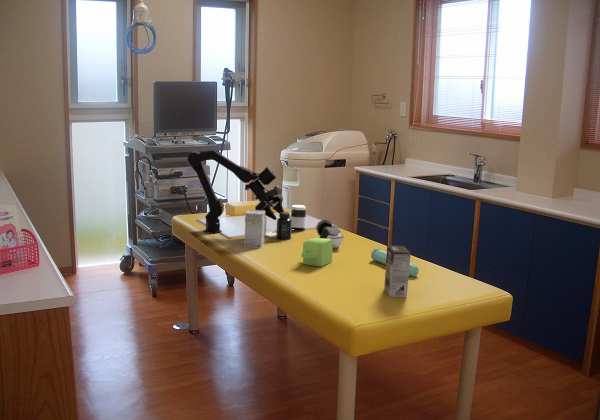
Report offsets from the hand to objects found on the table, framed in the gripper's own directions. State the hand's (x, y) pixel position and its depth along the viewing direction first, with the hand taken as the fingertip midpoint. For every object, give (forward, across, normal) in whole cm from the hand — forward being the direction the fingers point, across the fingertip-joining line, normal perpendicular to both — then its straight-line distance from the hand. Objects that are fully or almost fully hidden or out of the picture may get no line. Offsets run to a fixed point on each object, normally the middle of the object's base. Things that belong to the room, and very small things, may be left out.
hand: (280, 217), depth 289 cm
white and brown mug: (+5, +21, +8) cm, 23 cm away
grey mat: (+2, +2, +11) cm, 11 cm away
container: (+50, -19, -36) cm, 64 cm away
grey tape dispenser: (+23, +3, -9) cm, 25 cm away
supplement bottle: (+8, 0, +5) cm, 10 cm away
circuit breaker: (+4, -16, +10) cm, 19 cm away
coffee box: (+56, -49, -42) cm, 85 cm away
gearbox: (+28, -28, -14) cm, 43 cm away
